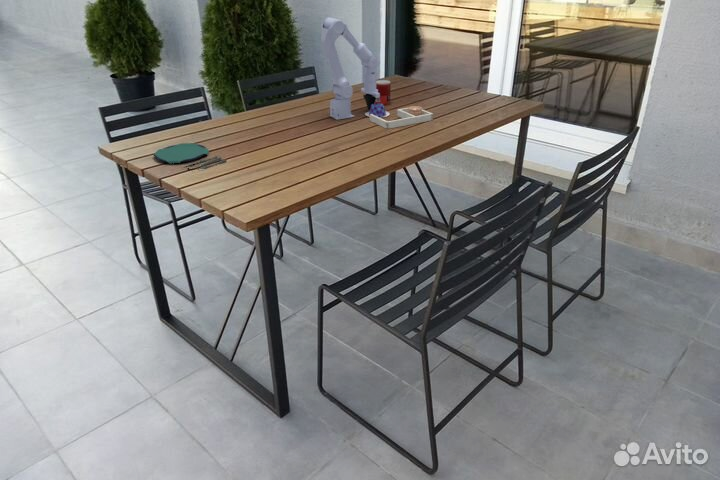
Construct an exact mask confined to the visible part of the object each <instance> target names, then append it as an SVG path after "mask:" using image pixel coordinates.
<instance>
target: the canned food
mask: <svg viewBox="0 0 720 480" xmlns="http://www.w3.org/2000/svg"><path fill="white" fill-rule="evenodd" d="M376 89H377V90H378V91H377V92H378V93H380V97H379V98H376V100H375V103H374V104H377V103H379V104H383V105H384V106H387V105H388V106H389V105H390V104H391V81H390V80H388V79H387V80H385V79H382V80H381V79H380V80H379V79H378V80H376Z"/></svg>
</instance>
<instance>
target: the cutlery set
mask: <svg viewBox="0 0 720 480" xmlns="http://www.w3.org/2000/svg"><path fill="white" fill-rule="evenodd" d="M209 153H210V150H209V148H208V147H206V146H205V145H202V144H199V143H198V144H197V143H195V142H194V143H193V142H183V143H182V142H181V143H178V144H174V145H170V146H169V145H168V146H166V147H163V148H159V149H157V150H156V151H155V152H154V153H153V157H155V159H156V160H158V161H160V162H162V163H169V164H170V165H175V164H174V163H179V164H180V163H185V162H190V161H195V160H197V159H199V158H202V157H203V156H205V155H207V156H209ZM222 159H223V158H222V157H221V156H220V157H218V156H217V155H215V156H212V157H210V158H207V159H206V158H204V159H201V160H199V161H196V162H193V163H190V164H188V165H192V164H195V165H201V166H197V168H198V169H205V170H206V169H208V168H211V166H212V167H215V166H214V165H216V166H218V165H217V164H219V165H221V164H223V163H227V159H223V160H222ZM217 161H218V162H217ZM200 162H202V163H200ZM213 162H216V163H213ZM172 163H173V164H172ZM197 163H198V164H197ZM210 163H213V164H210ZM208 164H209V165H208ZM202 165H203V166H202ZM192 166H194V165H192ZM189 167H191V166H189ZM199 167H200V168H199Z"/></svg>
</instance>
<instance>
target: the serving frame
mask: <svg viewBox="0 0 720 480" xmlns="http://www.w3.org/2000/svg"><path fill="white" fill-rule="evenodd" d="M408 112H409V110H408V107H404V108H400V109H399V108H398V109H396V116H397V117H399V119H393V120H389V121H388V120H385V119H383V118H382V117H381V118H379V117H377V116H375V115H373V114H370V117H369V121H370V122H372V123H374V124H375V125H378V126H380V127H381V128H384V129H386V130H390V129H394V128H399V127H403V126H404V127H405V126H409V125H415V124H419V123H421V124H422V123H425V122H431V121H433V120H434V113H432V112H429V111H427V110H425V109H422V110H421V115H420V116H414V115H412V114H409V113H408Z"/></svg>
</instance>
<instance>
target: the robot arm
mask: <svg viewBox="0 0 720 480" xmlns="http://www.w3.org/2000/svg"><path fill="white" fill-rule="evenodd" d="M320 28H321V39H320V43H321V46H322V49H323V52H324V55H325V58H326V61H327V64H328V67H329V70H330V74H331V76H332V81H331V84H332V88H331V89H332V92H333V94H334V98H333V99H331V100H329V109H330V110H329V111H330V112H329V114H330V115H329V117H330V118H332V119H335V120H337V121H338V120H343V119H349V118H355V115H354V114H352V105H351V102H352V100H351V98H352V97H353V94H354V89H353V87H352V86H351V84H350V82H349V80H348V79H347V77H345V74H344V71H343V67H342V63H341V61H340V57H339V55H338V51H337V48H336V45H335V43H336V40H337V39H338V38H339V37H340V36H342V37H343V38H344V39H345V40H346V41H347V43H348V44H349V45H350V46H352V48H353V49H352V50H353V51H352V53H354V54H355V55H356V57H357V58H358V59H359V60H360V62H361V65H362V66H363V79H364V80H363V81H364V82H363V84H364V85H363V87H361V88H360V92H361V93H364V94H363V98H364V100H365V101H364V102H365V104H366V108H367V110H368V111H370V109H371V105H372V104H375V100H376V98H379V97H380V93H378V92H377V91H378V90H377V89H376V81H377V69H378V66H379V64H380V63H379V60H378V57H376V56H375V55H373V52H372V51H370V50H369V49H368V47H367V44H366V43H364V42H359V41H358V39H357V38H356V37H355V35H354V34H353V32H352V31H351V30H350V28H349V27H348V25H347V24H346V23H345V22H344V21H343V20H342V19H339V18H334V17H331V16H330V17H329V16H328V17H326V18H325V19H324V20H323V21H322V23H321V26H320Z"/></svg>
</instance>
